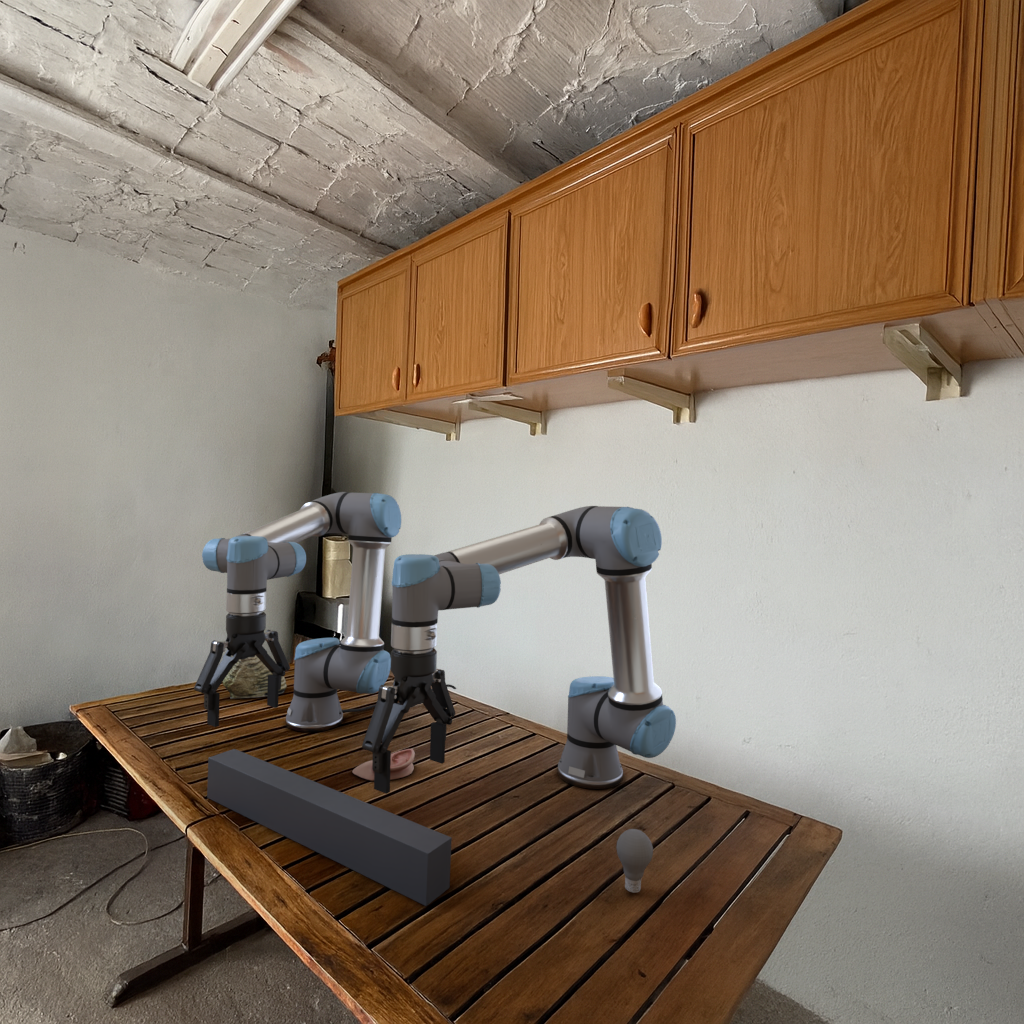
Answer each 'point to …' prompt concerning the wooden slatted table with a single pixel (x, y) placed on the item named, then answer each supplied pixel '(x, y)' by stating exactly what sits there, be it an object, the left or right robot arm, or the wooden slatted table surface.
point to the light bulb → (634, 857)
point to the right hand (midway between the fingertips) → (411, 775)
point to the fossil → (249, 679)
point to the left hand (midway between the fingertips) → (244, 715)
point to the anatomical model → (398, 769)
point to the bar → (334, 825)
